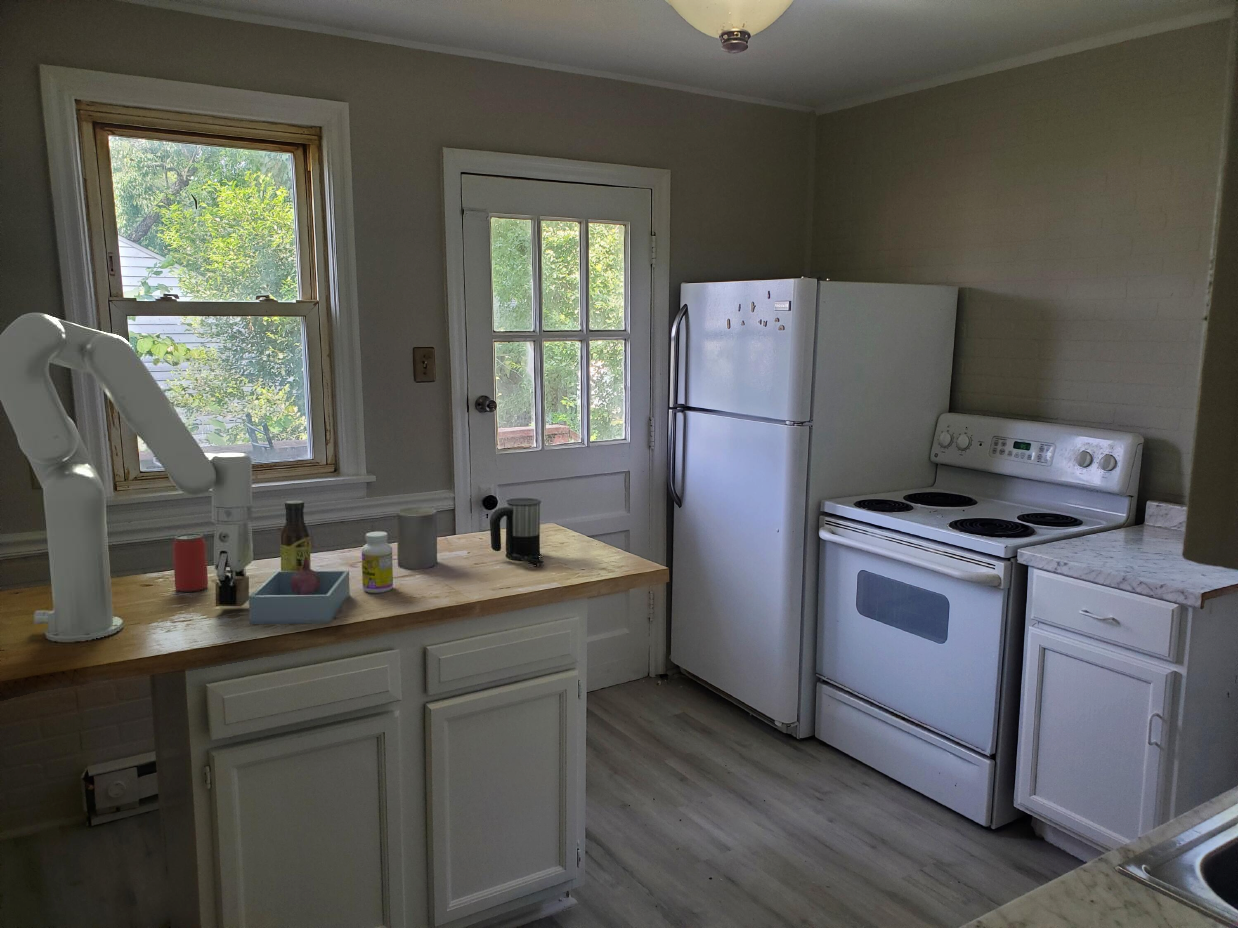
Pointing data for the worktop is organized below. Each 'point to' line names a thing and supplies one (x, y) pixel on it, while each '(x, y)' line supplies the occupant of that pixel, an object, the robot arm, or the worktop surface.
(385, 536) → the supplement bottle
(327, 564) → the worktop surface
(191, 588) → the beer can
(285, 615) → the tote
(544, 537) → the worktop surface
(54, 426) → the robot arm
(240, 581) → the walnut cube
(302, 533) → the sauce bottle
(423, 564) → the pillar candle
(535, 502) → the milk frother
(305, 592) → the vegetable
